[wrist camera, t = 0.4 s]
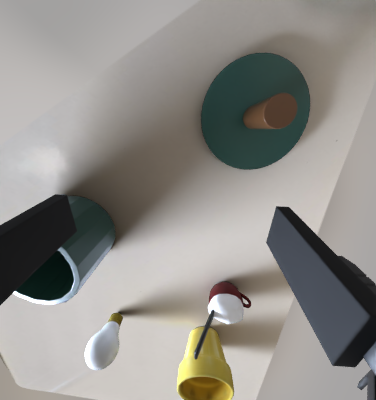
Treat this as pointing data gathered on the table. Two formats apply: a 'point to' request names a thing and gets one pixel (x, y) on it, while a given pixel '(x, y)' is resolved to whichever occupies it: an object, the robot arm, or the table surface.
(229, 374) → the flower pot
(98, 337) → the light bulb
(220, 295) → the cocoa
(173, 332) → the table surface
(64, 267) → the canister
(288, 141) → the lid
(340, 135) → the table surface
